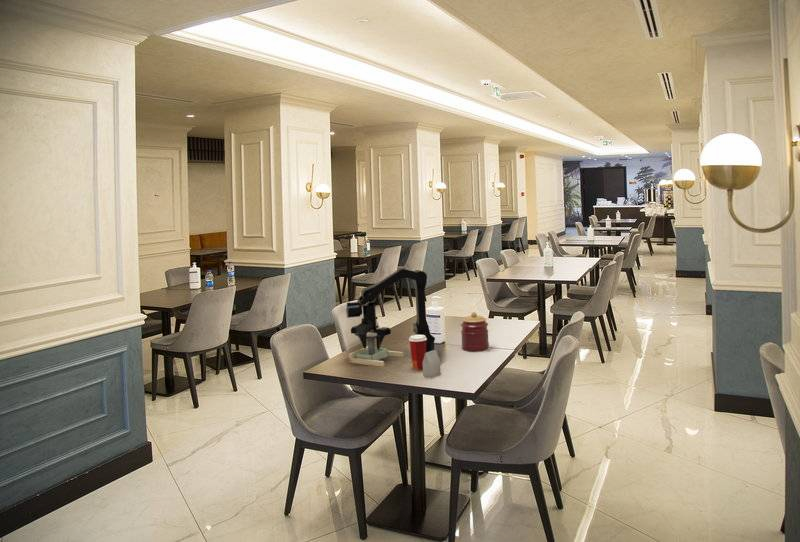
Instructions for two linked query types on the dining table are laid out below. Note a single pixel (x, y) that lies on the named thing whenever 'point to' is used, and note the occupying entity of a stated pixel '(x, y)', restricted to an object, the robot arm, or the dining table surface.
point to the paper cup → (418, 350)
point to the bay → (371, 362)
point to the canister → (474, 333)
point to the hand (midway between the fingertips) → (371, 348)
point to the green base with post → (372, 351)
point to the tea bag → (431, 364)
